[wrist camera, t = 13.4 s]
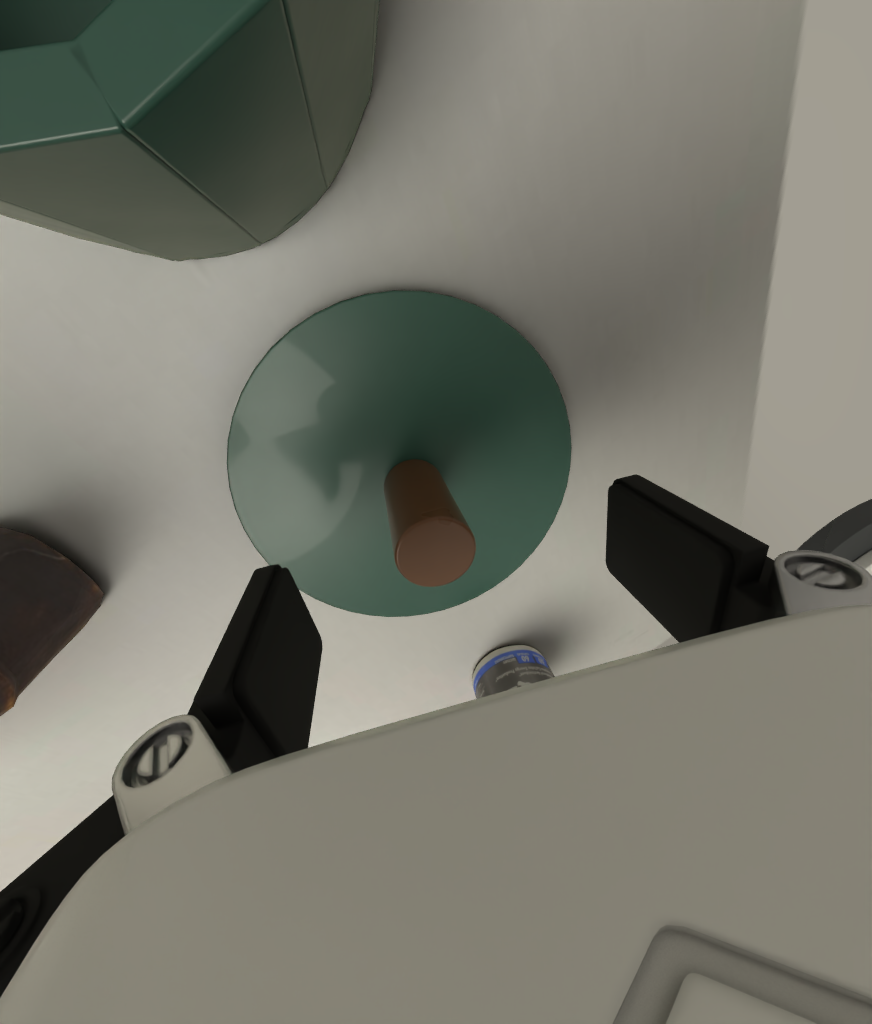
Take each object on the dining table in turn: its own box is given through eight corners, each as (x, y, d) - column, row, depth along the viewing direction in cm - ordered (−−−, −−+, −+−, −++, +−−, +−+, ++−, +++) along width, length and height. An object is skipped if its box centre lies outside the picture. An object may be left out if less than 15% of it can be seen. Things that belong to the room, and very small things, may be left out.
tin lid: (554, 256, 13) (689, 210, 8) (562, 561, 20) (638, 650, 14) (161, 338, 12) (6, 349, 7) (308, 632, 19) (287, 756, 13)
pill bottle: (546, 635, 22) (640, 791, 15) (540, 687, 24) (620, 845, 17) (469, 650, 21) (527, 821, 14) (470, 702, 24) (521, 874, 16)
